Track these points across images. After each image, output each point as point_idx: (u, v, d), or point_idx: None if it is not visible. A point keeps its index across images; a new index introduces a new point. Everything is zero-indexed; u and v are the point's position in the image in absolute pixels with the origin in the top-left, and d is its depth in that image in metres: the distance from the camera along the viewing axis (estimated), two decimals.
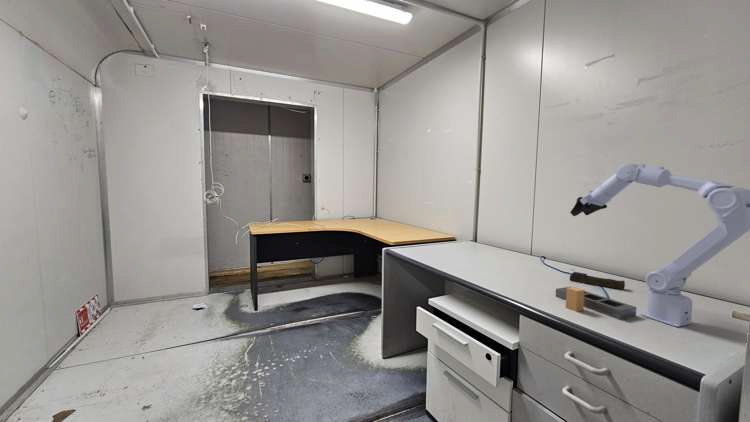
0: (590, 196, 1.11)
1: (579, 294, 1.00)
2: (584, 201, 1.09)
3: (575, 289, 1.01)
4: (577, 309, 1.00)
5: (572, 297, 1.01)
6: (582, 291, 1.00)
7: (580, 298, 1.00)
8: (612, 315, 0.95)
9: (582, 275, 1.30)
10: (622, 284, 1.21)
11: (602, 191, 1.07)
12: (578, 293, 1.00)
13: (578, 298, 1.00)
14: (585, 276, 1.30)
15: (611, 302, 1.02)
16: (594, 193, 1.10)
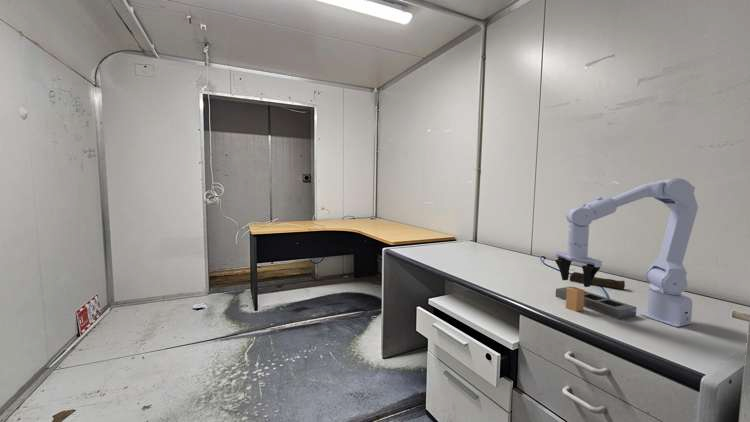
0: (582, 258, 0.98)
1: (579, 294, 1.00)
2: (600, 263, 0.94)
3: (575, 289, 1.01)
4: (577, 309, 1.00)
5: (572, 297, 1.01)
6: (582, 291, 1.00)
7: (580, 298, 1.00)
8: (612, 315, 0.95)
9: (582, 276, 1.30)
10: (622, 284, 1.21)
11: (586, 245, 0.98)
12: (578, 293, 1.00)
13: (578, 298, 1.00)
14: None
15: (611, 302, 1.02)
16: (582, 253, 0.98)
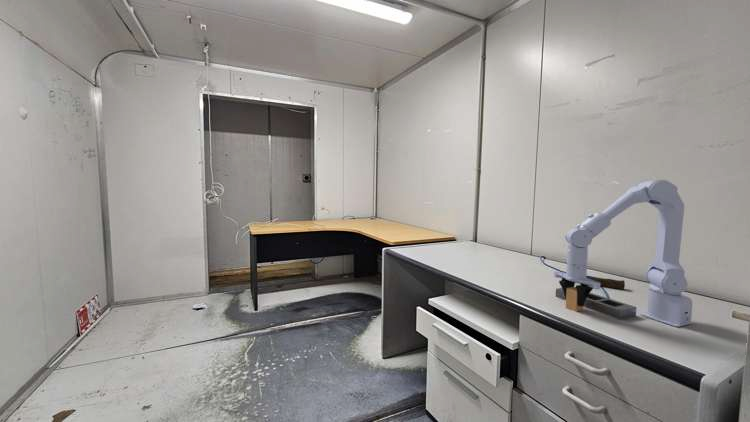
0: (581, 280, 0.98)
1: None
2: (599, 285, 0.95)
3: (575, 289, 1.01)
4: (577, 309, 1.00)
5: (572, 297, 1.01)
6: None
7: None
8: (612, 315, 0.95)
9: None
10: (622, 284, 1.21)
11: (585, 267, 0.98)
12: None
13: None
14: None
15: (611, 302, 1.02)
16: (581, 274, 0.98)
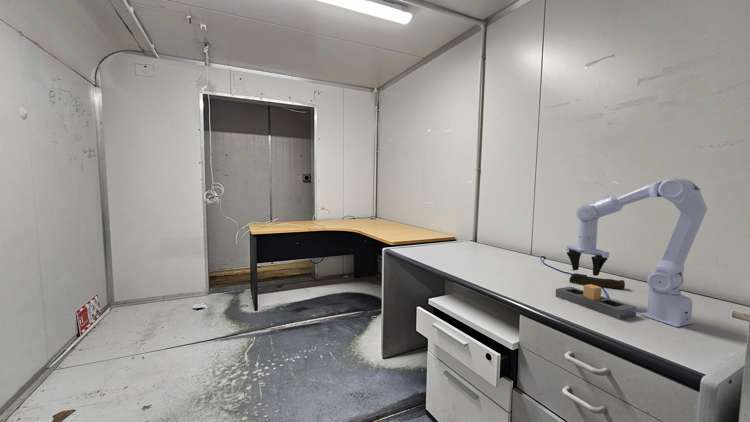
0: (591, 250, 1.10)
1: (597, 291, 1.03)
2: (608, 254, 1.06)
3: (592, 286, 1.04)
4: None
5: (590, 294, 1.04)
6: (599, 288, 1.03)
7: (597, 295, 1.03)
8: (612, 315, 0.95)
9: (583, 277, 1.28)
10: (623, 284, 1.22)
11: (595, 239, 1.10)
12: (596, 290, 1.03)
13: (596, 295, 1.03)
14: (586, 277, 1.28)
15: (611, 302, 1.02)
16: (591, 246, 1.10)
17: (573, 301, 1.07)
